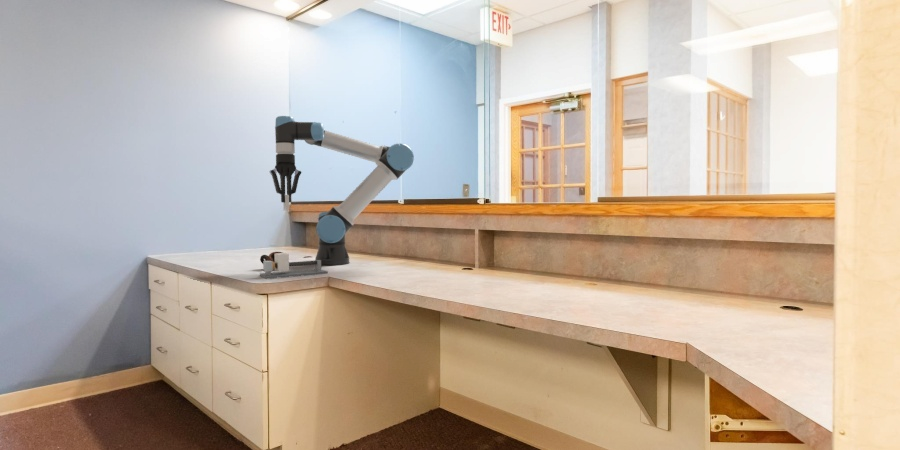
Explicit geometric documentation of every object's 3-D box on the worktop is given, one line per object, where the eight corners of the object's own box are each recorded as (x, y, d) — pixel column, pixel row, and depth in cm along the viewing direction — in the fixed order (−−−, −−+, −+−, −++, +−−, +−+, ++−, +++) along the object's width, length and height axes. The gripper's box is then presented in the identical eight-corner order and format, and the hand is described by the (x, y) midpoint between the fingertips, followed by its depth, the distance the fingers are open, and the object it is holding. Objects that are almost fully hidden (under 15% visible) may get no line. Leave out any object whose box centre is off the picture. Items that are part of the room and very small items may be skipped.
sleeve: (285, 269, 196) (285, 252, 196) (289, 270, 192) (288, 253, 192) (274, 270, 194) (274, 253, 194) (278, 271, 190) (278, 254, 190)
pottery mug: (290, 268, 219) (292, 252, 216) (283, 281, 211) (285, 265, 207) (262, 261, 218) (264, 245, 215) (254, 274, 210) (255, 257, 206)
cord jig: (318, 270, 207) (318, 256, 206) (327, 273, 199) (327, 258, 198) (259, 275, 193) (259, 260, 193) (267, 278, 185) (267, 262, 185)
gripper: (297, 155, 220) (298, 210, 221) (266, 153, 213) (268, 210, 214) (303, 154, 214) (304, 210, 215) (272, 152, 207) (273, 210, 208)
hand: (286, 210), depth 214 cm, fingers closed
